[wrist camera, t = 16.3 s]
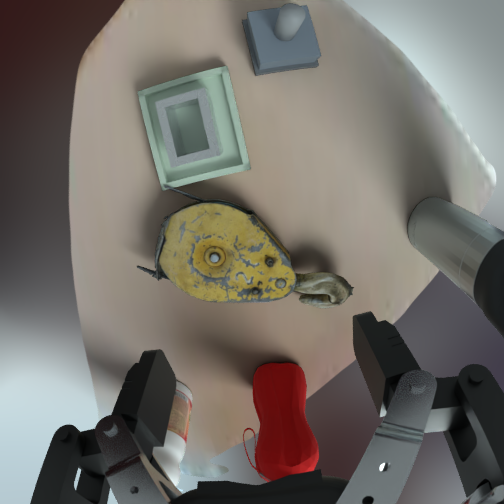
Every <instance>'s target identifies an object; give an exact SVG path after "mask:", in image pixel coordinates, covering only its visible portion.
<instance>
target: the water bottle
mask: <svg viewBox="0 0 504 504" xmlns="http://www.w3.org/2000/svg"><path fill="white" fill-rule="evenodd" d="M306 388H307V385H306V379H305V375H304V372H303V370H302V368H301V367H299V366H298V365H297V364H292V363H282V364H278V363H269V364H264V365H262V366H260V367H259V368H257V370H256V372H255V374H254V377H253V402H254V406H255V409H256V412H257V415H258V418H259V421H260V430H259V437H258V441H257V446H256V454H255V462H256V468H257V469H256V468H255V467H254V466H253V465H252V463H251V462H250V459H249V457H248V459H249V462H250V464H251V465H252V467H253V468H255V469H256V470H257V472H258V474H259V475H260V477H261V478H263V479H264V480H266V481H267V482H271V481H273V480H276V479H279V478H282V477H285V476H288V475H291V474H298V473H304V472H309V471H313V470H314V468H315V466H316V464H317V461H318V459H319V451H318V443H317V441H316V439H315V437H314V435H313V433H312V431H311V429H310V427H309V425H308V423H307V421H306V417H305V413H304V411H305V401H306ZM248 429H250V430H252V431H253V429H251V428H247V429H245V431H246V430H248ZM245 431H244V433H245ZM253 433H254V431H253ZM254 436H255V433H254ZM243 441H244V434H243ZM244 446H245V444H244ZM245 450H246V448H245ZM246 454H247V451H246ZM247 456H248V454H247Z"/></svg>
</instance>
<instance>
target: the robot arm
mask: <svg viewBox="0 0 504 504" xmlns="http://www.w3.org/2000/svg"><path fill="white" fill-rule="evenodd" d="M408 236H409V240H410V242H411V244H412V245H413V246H414V247H415V248H416V249H417V250H418V251H419V252H420V253H421V254H423V255H424V256H425V257H426V258H427V259H428V260H429V261H430V262H432V263H433V264H434V265H435V266H436V267H437V268H438V269H440V270H441V271H442V272H443V273H444V274H445V275H446V276H447V277H448V278H449V279H451V280H452V281H453V282H454V283H455V284H456V285H457V286H458V287H459V288H460V289H461V290H462V291H463V292H465V293H466V294H467V295H468V296H469V297H470V298H471V299H472V300H473V301H474V302H475V303H476V304H477V305H478V306H479V307H480V308H481V309H482V310H483V312H484V314H485V316H486V317H487V319H488V320H489V321H490V322H491V323H492V325H493V326H494V327H495V328H496V329H497V330H498V332H499V333H500V334H501V335H502V336H503V338H504V231H502V230H500V229H498V228H496V227H495V226H493V225H491V224H489V223H488V222H487V221H486V220H485V219H483V218H481V217H479V216H477V215H475V214H473V213H471V212H469V211H468V210H466V209H464V208H462V207H460V206H458V205H456V204H454V203H449V202H447V201H445V200H443V199H441V198H438V197H430V198H427V199H425V200H423V201H422V202H420V203H419V204H418V205H417V206H416V207H415V209H414V211H413V212H412V214H411V217H410V219H409V223H408ZM353 346H354V352H355V356H356V359H357V361H358V363H359V366H360V368H361V371H362V373H363V376H364V378H365V381H366V383H367V386H368V388H369V391H370V393H371V396H372V399H373V401H374V403H375V406H376V409H377V412H378V414H379V417H382V416H385V417H384V420H383V422H382V424H381V426H379V427H378V428H377V430H376V432H375V434H374V436H373V438H372V440H371V442H370V444H369V446H368V448H367V450H366V452H365V454H364V456H363V458H362V460H361V461H360V463H359V465H358V467H357V469H356V471H355V473H354V474H353V476H352V478H351V480H350V481H349V480H346V479H342V478H338V477H332V476H322V474H321V470H315V471H309V472H304V473H298V474H291V475H288V476H285V477H282V478H279V479H276V480H273V481H271V482H268V483H265V484H261V485H250V484H242V483H236V482H230V481H202V482H201V481H199V482H198V486H197V489H194V490H191V491H188V492H186V493H184V494H182V493H181V492H180V491H179V490H178V489H177V488H176V486H175V485H174V484H173V482H172V481H171V479H170V478H169V477H168V475H167V474H166V472H165V471H164V469H163V467H162V466H161V464H160V463H159V461H158V460H157V458H156V456H155V455H154V454H153V448H154V447H164V443H165V438H166V433H167V428H168V423H169V419H170V414H171V409H172V404H173V400H174V395H175V391H176V377H175V374H174V372H173V370H172V368H171V366H170V364H169V362H168V361H167V359H166V357H165V355H164V353H163V351H162V350H160V349H159V350H149V351H144V352H143V353H142V356H141V358H140V361H139V363H135V364H134V365H133V366H132V368H131V369H130V370H129V371H128V373H127V376H126V378H125V382H124V383H123V386H122V390H121V391H120V393H119V396H118V399H117V401H116V404H115V407H114V409H113V412H112V415H109V416H106V417H104V418H102V419H101V420H100V421H99V422H98V423H97V425H96V427H95V429H91V430H87V431H82V432H80V431H79V430H78V429H77V428H76V427H75V426H73V425H64V426H62V427H60V428H59V429H58V430H57V431H56V432H55V434H54V436H53V438H52V441H51V443H50V446H49V449H48V451H47V454H46V457H45V460H44V463H43V466H42V468H41V471H40V474H39V477H38V480H37V483H36V487H35V490H34V493H33V496H32V500H31V503H30V504H107V501H108V495H109V491H110V487H111V489H112V492H113V494H114V496H115V498H116V500H117V502H118V504H396V502H397V500H398V498H399V496H400V494H401V492H402V489H403V487H404V485H405V483H406V480H407V478H408V476H409V473H410V471H411V468H412V466H413V464H414V461H415V458H416V456H417V453H418V450H419V448H420V445H421V442H422V438H423V433H427V432H438V431H443V433H444V435H445V438H446V440H447V443H448V445H449V448H450V451H451V453H452V456H453V459H454V461H455V464H456V467H457V470H458V472H459V476H460V478H461V481H462V484H463V487H464V491H465V494H466V497H467V499H465V500H464V501H463V502H462V504H504V393H503V391H502V390H501V388H500V387H499V385H498V383H497V382H496V380H495V378H494V377H493V375H492V374H491V372H490V371H489V370H488V369H487V368H486V367H484V366H482V365H478V364H471V365H468V366H466V367H464V368H463V369H462V370H461V371H460V373H459V376H455V377H446V378H436V377H434V376H433V375H432V374H431V373H429V372H428V371H425V370H421V368H420V367H419V365H418V363H417V362H416V360H415V358H414V357H413V355H412V353H411V352H410V350H409V348H408V347H407V345H406V344H405V343H404V340H403V339H402V337H400V334H399V332H398V331H397V329H396V328H395V326H393V325H392V324H390V323H389V322H387V321H386V320H384V321H380V322H378V321H377V320H376V318H375V316H374V315H373V313H372V312H371V311H370V312H366V313H362V314H358V315H354V316H353ZM78 468H80V469H81V474H80V477H79V481H78V485H77V489H76V490H75V488H74V481H75V477H76V474H77V470H78Z"/></svg>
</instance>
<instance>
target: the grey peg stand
mask: <svg viewBox="0 0 504 504" xmlns="http://www.w3.org/2000/svg"><path fill="white" fill-rule="evenodd" d="M242 21H243V27H244V30H245V34H246V38H247V42H248V46H249V50H250V54H251V58H252V62H253V66H254V71H255V75H256V76H258V75H263V74H269V73H275V72H282V71H289V70H296V69H304V68H313V67H317V66H319V64H318V60H317V59H318V58H319V57H320V56H321V53H320V49H319V46H318V42H317V38H316V34H315V31H314V27H313V24H312V20H311V17H310V14H309V10H308V7H307V5H305V6H299V5H297V4H293V3H289V4H285V5H284V6H282V8H273V9H265V10H258V11H252V12H247V19H246V20H242Z"/></svg>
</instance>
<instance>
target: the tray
mask: <svg viewBox="0 0 504 504" xmlns="http://www.w3.org/2000/svg"><path fill="white" fill-rule="evenodd" d="M201 88H206V89H207V90H208V91H209V92H210V95H211V99H212V103H213V107H214V112H215V116H216V120H217V125H218V129H219V133H220V137H221V142H222V146H223V150H224V152H223V153H222V154H221V155H220V156H215V157H211V158H207V159H203V160H199V161H195V162H191V163H188V164H184V165H180V166H176V167H173V168H171V166H170V162H169V158H168V154H167V150H166V146H165V142H164V138H163V134H162V130H161V126H160V122H159V118H158V113H157V109H156V105H155V102H157V101H160V100H163V99H166V98H169V97H173V96H176V95H179V94H183V93H186V92H190V91H193V90H197V89H201ZM138 96H139V101H140V105H141V109H142V114H143V118H144V122H145V126H146V130H147V134H148V138H149V142H150V146H151V150H152V154H153V158H154V162H155V165H156V169H157V173H158V176H159V180H160V184H161V187H162V191H163V190H167V189H168V188H165V187H164V186H169V187H171V188H174V187H178V186H182V185H186V184H190V183H194V182H198V181H202V180H206V179H210V178H214V177H218V176H223V175H227V174H231V173H236V172H240V171H245V170H250V169H251V167H250V162H249V158H248V154H247V149H246V145H245V140H244V136H243V131H242V127H241V123H240V118H239V114H238V109H237V105H236V101H235V97H234V92H233V88H232V84H231V79H230V75H229V71H228V67H227V66H223V67H219V68H215V69H211V70H207V71H203V72H199V73H195V74H192V75H188V76H184V77H181V78H178V79H174V80H171V81H168V82H165V83H162V84H159V85H156V86H153V87H150V88H147V89H144V90H141V91H138ZM175 111H176V116H177V120H178V124H179V128H180V132H181V136H182V140H183V144H184V148H185V152H186V153H190V152H193V151H197V150H201V149H205V148H209V144H208V139H207V135H206V131H205V127H204V123H203V118H202V114H201V110H200V105H199V103H198V104H194V105H190V106H187V107H183V108H180V109H176V110H175Z"/></svg>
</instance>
